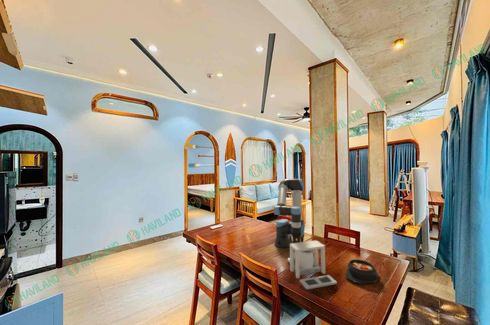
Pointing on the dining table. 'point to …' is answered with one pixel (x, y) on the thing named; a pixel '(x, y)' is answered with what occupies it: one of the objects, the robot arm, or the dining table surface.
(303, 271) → the picture frame
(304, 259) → the jar
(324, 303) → the dining table surface
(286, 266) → the dining table surface
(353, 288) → the dining table surface
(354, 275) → the casserole
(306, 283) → the open rectangular frame
